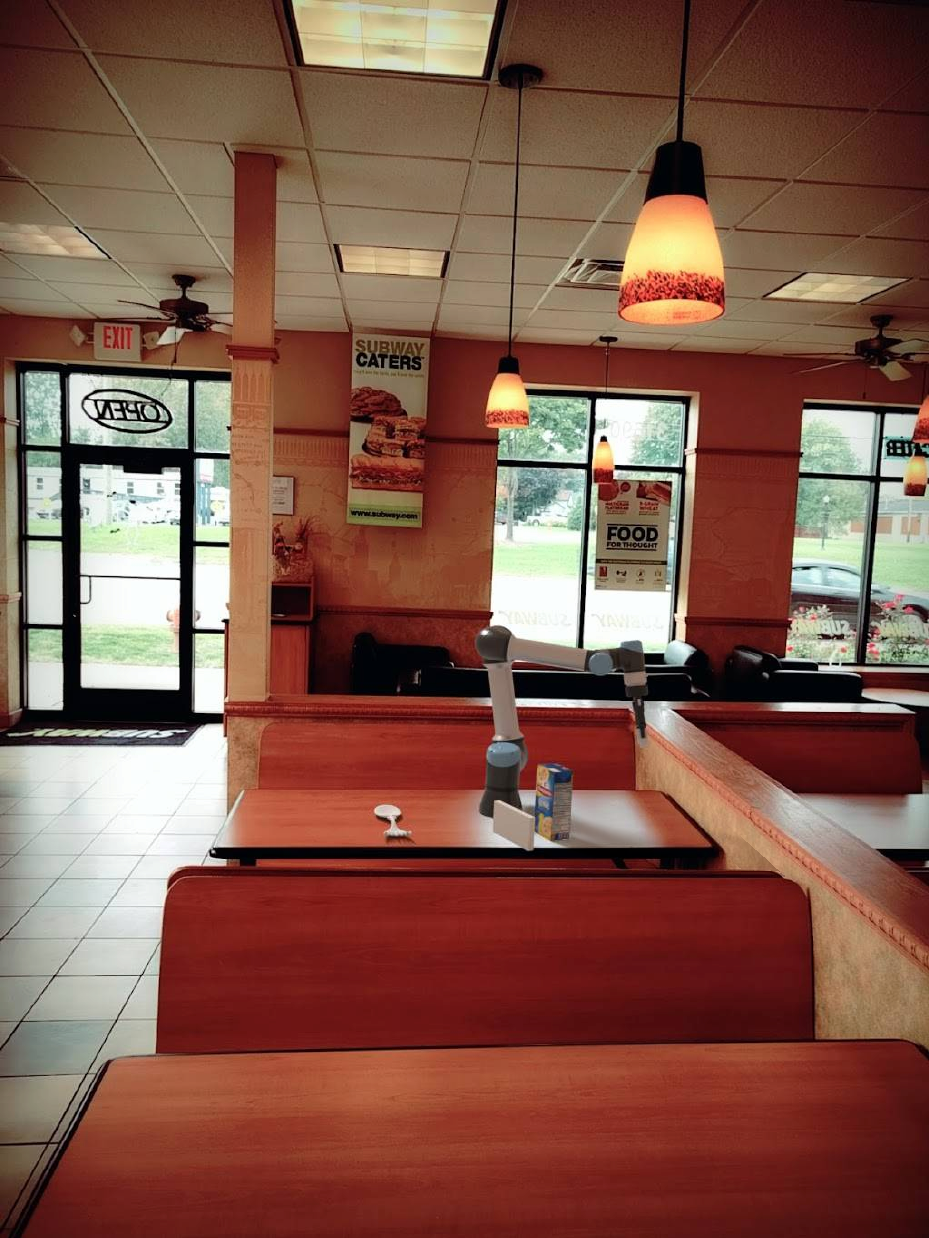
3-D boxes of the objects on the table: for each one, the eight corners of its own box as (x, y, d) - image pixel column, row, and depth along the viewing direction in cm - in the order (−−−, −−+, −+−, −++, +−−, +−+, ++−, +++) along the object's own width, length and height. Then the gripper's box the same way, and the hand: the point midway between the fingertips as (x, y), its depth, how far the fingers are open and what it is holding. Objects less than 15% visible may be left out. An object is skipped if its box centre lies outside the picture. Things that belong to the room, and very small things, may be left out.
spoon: (382, 842, 253) (383, 831, 253) (372, 811, 284) (372, 801, 284) (412, 842, 255) (412, 831, 255) (398, 811, 286) (399, 801, 286)
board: (492, 831, 269) (494, 800, 269) (497, 830, 270) (499, 800, 270) (527, 850, 252) (529, 818, 252) (533, 849, 253) (535, 817, 253)
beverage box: (550, 841, 262) (554, 772, 261) (533, 830, 272) (537, 763, 271) (569, 839, 265) (573, 771, 264) (551, 828, 275) (555, 763, 274)
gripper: (649, 684, 278) (656, 748, 276) (644, 682, 302) (651, 741, 301) (626, 686, 279) (633, 750, 277) (623, 684, 303) (630, 743, 302)
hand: (643, 745), depth 289 cm, fingers open, 13 cm apart
